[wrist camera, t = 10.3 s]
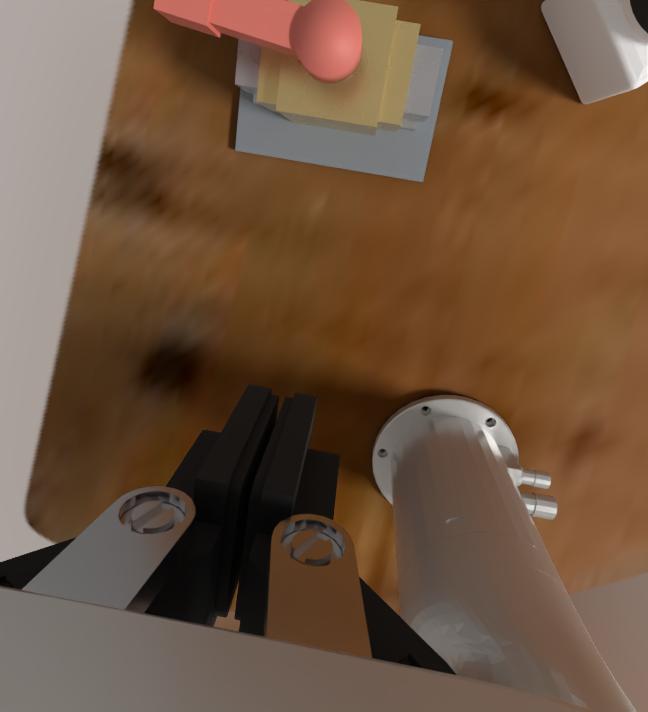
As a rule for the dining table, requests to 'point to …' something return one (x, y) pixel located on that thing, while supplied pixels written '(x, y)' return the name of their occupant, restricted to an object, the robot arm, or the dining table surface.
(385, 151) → the mat
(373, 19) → the valve
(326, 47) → the lever
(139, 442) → the dining table surface
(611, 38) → the medicine bottle
